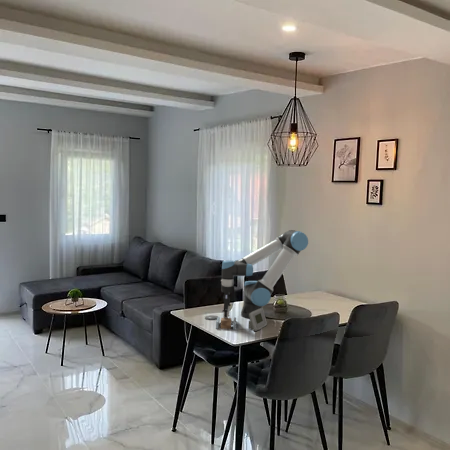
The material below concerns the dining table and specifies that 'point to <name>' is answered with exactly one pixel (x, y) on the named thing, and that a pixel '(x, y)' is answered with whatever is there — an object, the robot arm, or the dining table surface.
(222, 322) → the block
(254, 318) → the digital clock
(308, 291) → the dining table surface
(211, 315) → the coaster
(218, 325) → the channel
